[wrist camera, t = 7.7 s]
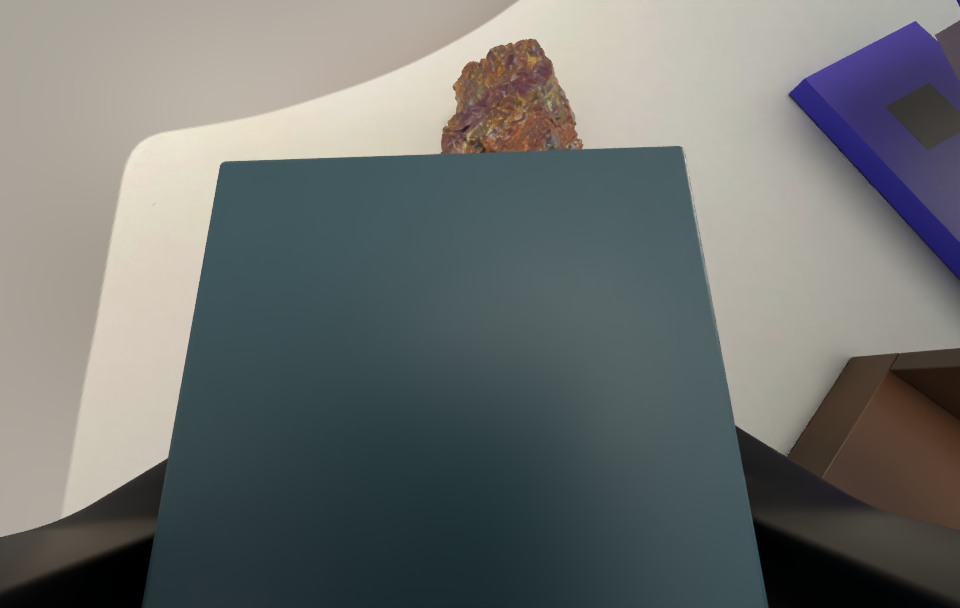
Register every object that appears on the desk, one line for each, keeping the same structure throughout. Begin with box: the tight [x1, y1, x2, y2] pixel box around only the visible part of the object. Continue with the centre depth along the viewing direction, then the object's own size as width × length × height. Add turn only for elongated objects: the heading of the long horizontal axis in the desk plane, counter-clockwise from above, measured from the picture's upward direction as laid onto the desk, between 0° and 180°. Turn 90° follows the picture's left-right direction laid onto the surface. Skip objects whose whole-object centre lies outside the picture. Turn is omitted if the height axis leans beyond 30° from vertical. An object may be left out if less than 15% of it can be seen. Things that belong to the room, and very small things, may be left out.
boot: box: [142, 146, 769, 608], centre depth 10 cm, size 10×6×13 cm, turn 1°
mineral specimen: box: [441, 39, 583, 154], centre depth 22 cm, size 12×8×7 cm
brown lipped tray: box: [787, 348, 960, 530], centre depth 16 cm, size 16×11×6 cm
